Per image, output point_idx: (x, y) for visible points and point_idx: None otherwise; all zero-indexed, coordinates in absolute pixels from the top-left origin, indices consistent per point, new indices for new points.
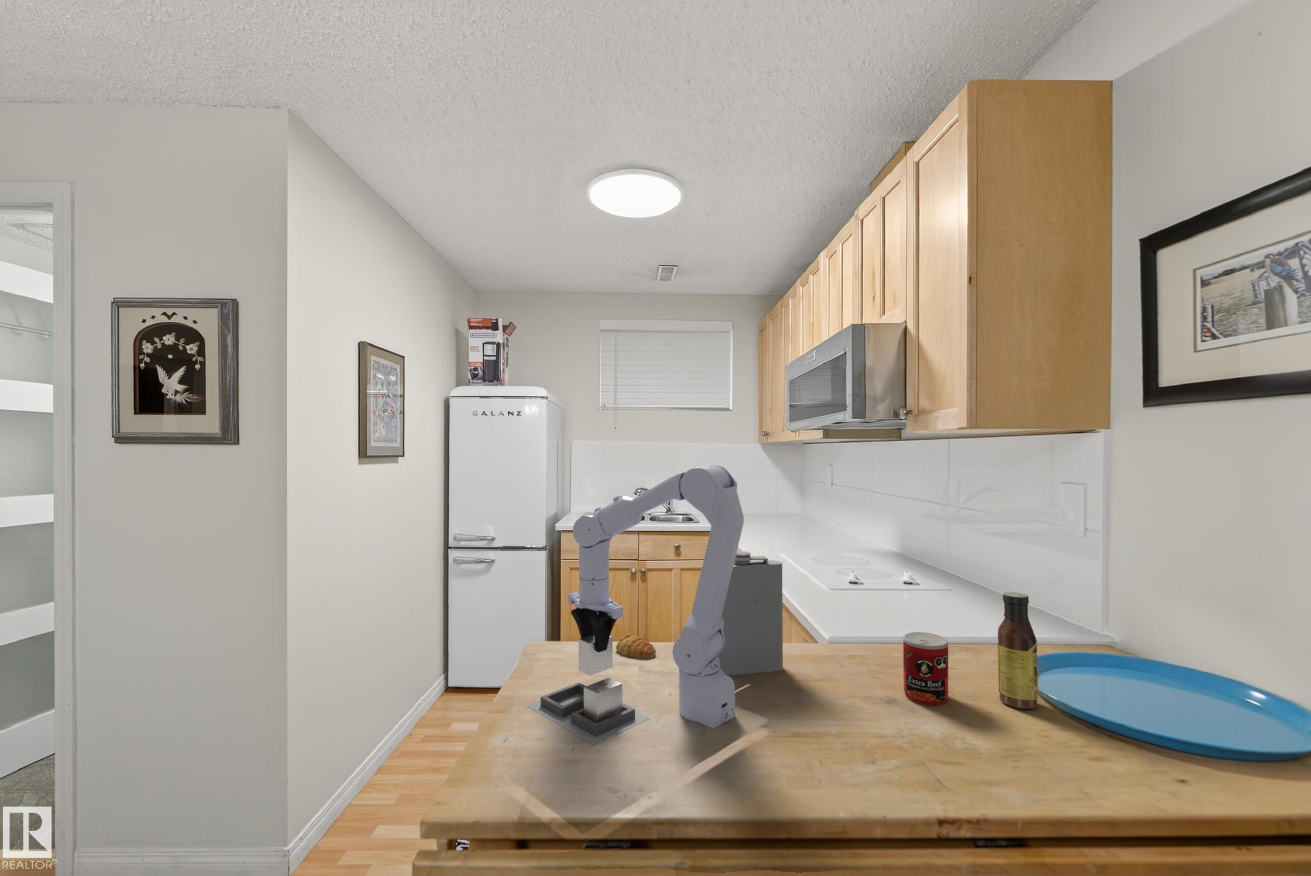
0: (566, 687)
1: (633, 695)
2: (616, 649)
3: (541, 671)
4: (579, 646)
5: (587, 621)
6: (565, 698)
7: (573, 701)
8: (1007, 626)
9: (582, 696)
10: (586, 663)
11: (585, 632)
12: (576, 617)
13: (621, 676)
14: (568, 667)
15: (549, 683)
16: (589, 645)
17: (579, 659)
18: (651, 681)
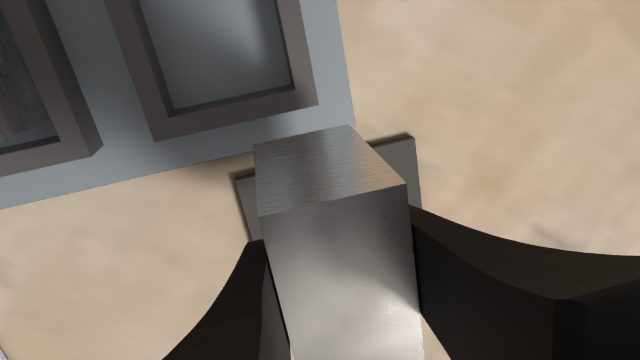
0: (301, 28)
1: (210, 268)
2: None
3: (606, 68)
4: (377, 167)
5: (478, 342)
6: (275, 12)
7: (228, 30)
8: None
9: (253, 87)
10: (287, 155)
11: (430, 263)
12: (554, 274)
13: None
14: (560, 171)
15: (493, 46)
16: (259, 209)
17: (353, 141)
18: None
